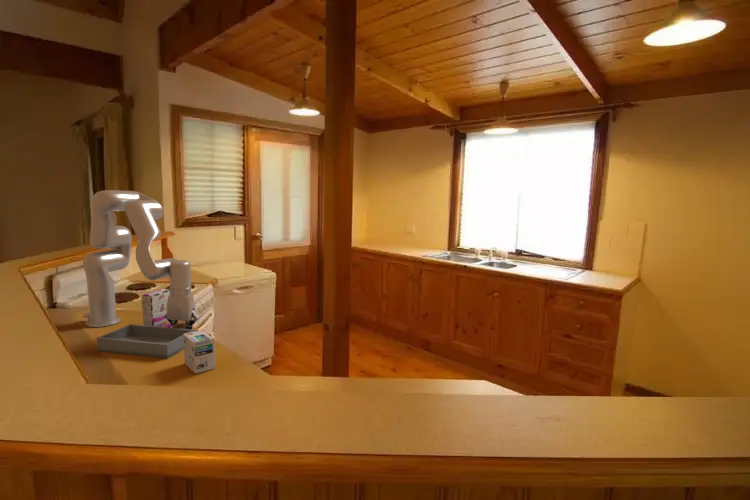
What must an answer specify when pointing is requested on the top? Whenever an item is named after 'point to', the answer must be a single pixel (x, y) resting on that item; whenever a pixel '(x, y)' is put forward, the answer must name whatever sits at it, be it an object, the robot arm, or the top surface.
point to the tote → (143, 341)
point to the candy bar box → (155, 308)
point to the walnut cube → (180, 325)
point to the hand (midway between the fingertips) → (182, 334)
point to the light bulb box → (199, 351)
